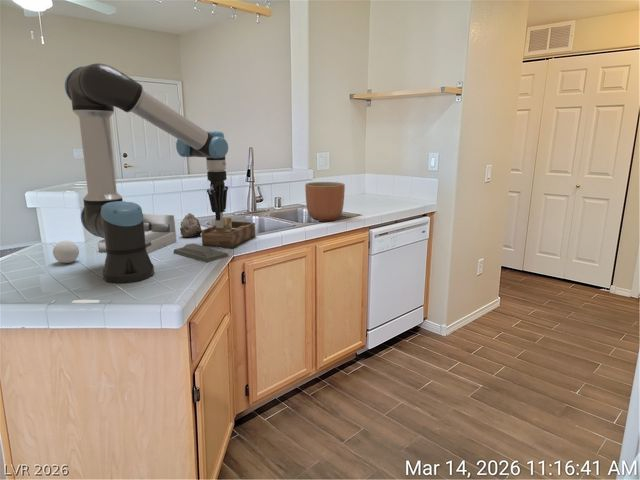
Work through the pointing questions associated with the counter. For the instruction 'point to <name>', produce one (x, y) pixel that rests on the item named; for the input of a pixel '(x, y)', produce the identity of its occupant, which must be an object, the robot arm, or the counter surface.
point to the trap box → (228, 235)
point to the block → (225, 224)
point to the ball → (66, 251)
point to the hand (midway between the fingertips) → (220, 227)
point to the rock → (190, 226)
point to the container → (154, 232)
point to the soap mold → (200, 253)
